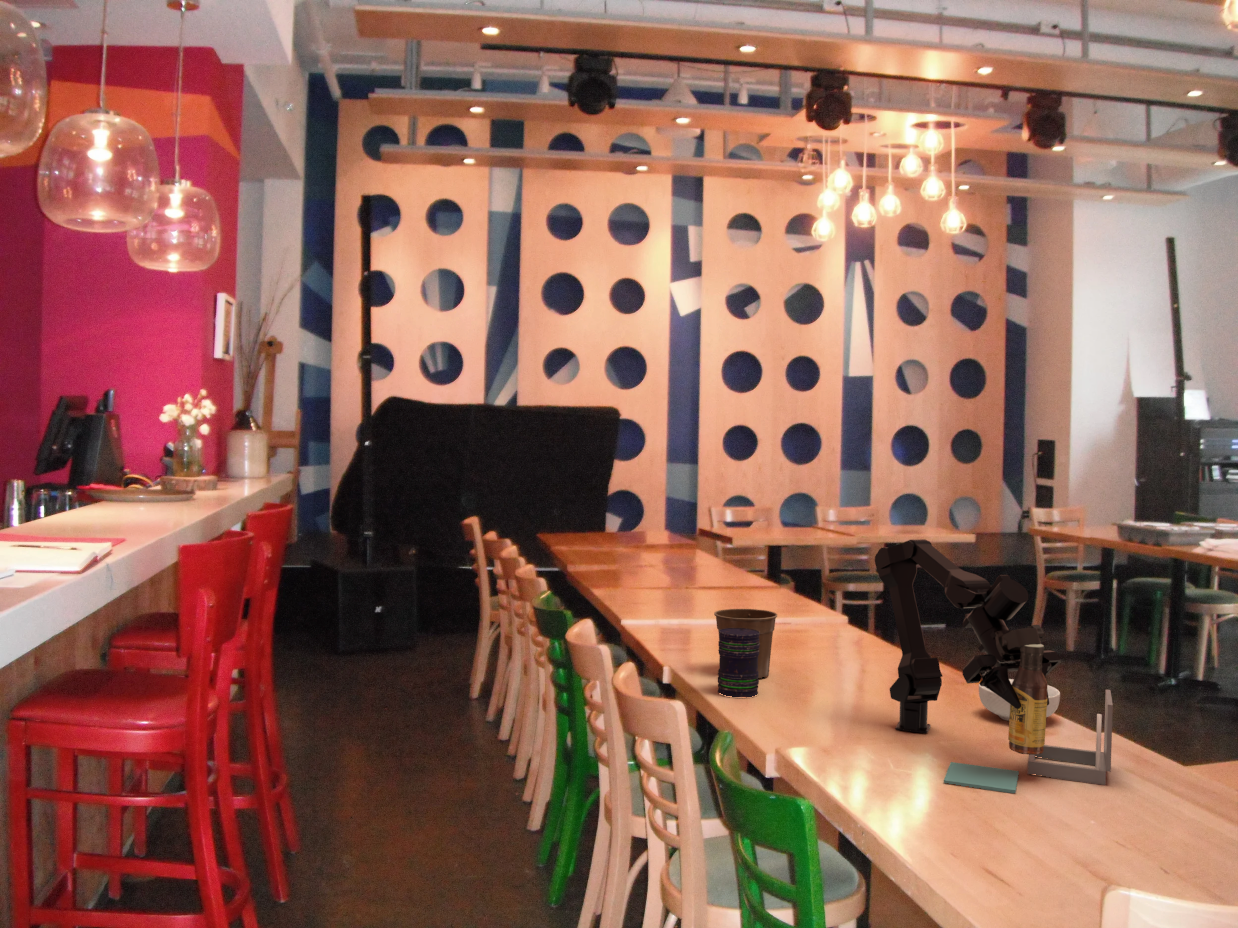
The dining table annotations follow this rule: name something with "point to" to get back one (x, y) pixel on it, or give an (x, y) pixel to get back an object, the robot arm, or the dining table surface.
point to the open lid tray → (1079, 755)
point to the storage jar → (738, 662)
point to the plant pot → (755, 621)
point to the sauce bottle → (1029, 703)
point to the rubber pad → (982, 777)
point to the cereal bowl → (1003, 707)
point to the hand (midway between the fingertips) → (1033, 706)
